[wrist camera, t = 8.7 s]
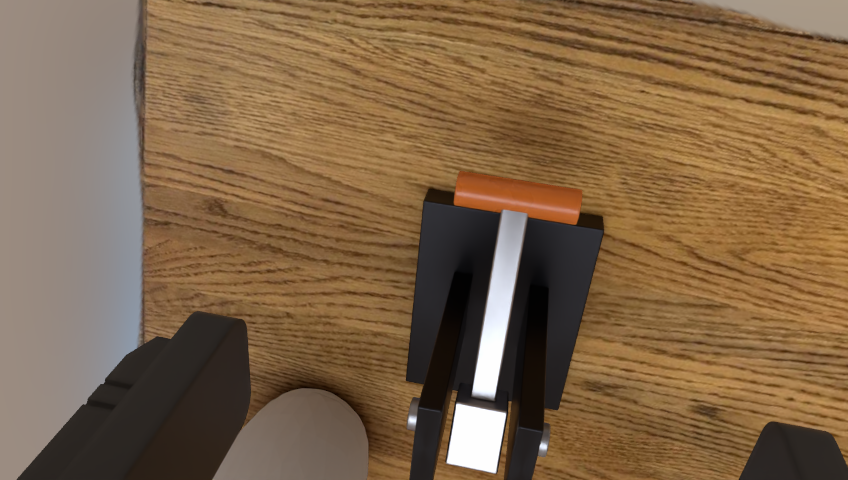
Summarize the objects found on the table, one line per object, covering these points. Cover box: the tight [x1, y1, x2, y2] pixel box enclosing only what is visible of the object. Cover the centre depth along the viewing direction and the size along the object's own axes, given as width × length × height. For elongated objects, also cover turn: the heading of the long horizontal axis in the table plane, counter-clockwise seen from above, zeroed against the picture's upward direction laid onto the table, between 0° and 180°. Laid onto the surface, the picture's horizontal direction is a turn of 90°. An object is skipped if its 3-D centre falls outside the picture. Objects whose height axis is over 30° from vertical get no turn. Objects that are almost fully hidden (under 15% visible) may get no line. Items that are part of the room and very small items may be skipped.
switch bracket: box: [406, 189, 604, 480], centre depth 33 cm, size 12×9×12 cm
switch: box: [445, 171, 582, 474], centre depth 28 cm, size 12×5×2 cm, turn 175°
